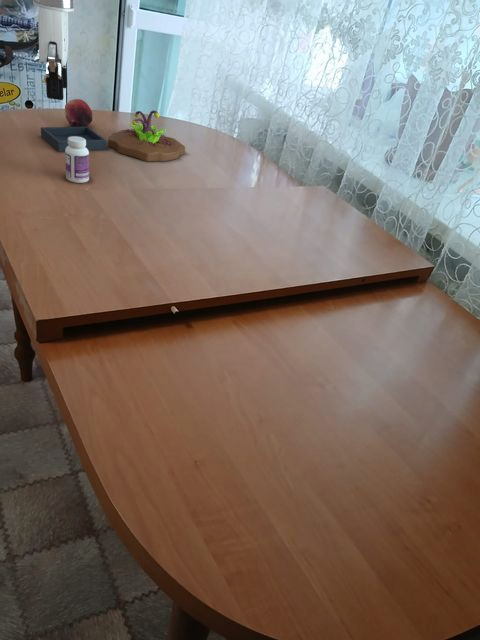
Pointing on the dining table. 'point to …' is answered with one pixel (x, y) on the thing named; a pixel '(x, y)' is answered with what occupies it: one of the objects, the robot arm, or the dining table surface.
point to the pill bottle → (77, 160)
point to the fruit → (78, 113)
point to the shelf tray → (60, 136)
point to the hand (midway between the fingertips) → (57, 92)
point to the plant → (146, 141)
